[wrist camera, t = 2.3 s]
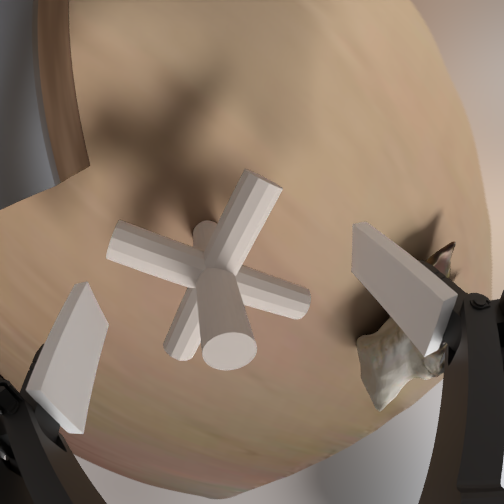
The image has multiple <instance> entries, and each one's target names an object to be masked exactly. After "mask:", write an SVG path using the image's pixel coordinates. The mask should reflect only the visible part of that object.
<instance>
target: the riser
mask: <svg viewBox="0 0 504 504" xmlns="http://www.w3.org/2000/svg"><path fill="white" fill-rule="evenodd" d="M89 166H90V163H89V159H88V155H87V151H86V146H85V142H84V137H83V132H82V127H81V122H80V117H79V111H78V106H77V100H76V93H75V86H74V79H73V71H72V61H71V51H70V37H69V0H0V210H1V209H3V208H5V207H8V206H10V205H12V204H14V203H16V202H18V201H21V200H23V199H25V198H27V197H30V196H32V195H35V194H37V193H39V192H42V191H44V190H47V189H49V188H52V187H54V186H56V185H58V184H60V183H61V182H63V181H65V180H66V179H68V178H70V177H71V176H73V175H75V174H77V173H78V172H80V171H82V170H84V169H85V168H87V167H89Z"/></svg>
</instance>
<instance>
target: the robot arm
mask: <svg viewBox="0 0 504 504" xmlns="http://www.w3.org/2000/svg"><path fill="white" fill-rule="evenodd" d="M351 272H352V273H353V274H354V275H355V276H356V277H357V278H358V280H359V281H360V282H361V283H362V284H363V285H364V286H365V287H366V288H367V290H368V291H369V292H370V293H371V294H372V295H373V296H374V298H375V299H376V300H377V301H378V302H379V303H380V304H381V306H382V307H383V308H384V309H385V310H386V311H387V313H388V314H389V315H390V316H391V317H392V318H393V320H394V321H395V322H396V323H397V324H398V326H399V327H400V328H401V329H402V330H403V332H404V333H405V334H406V335H407V336H408V338H409V339H410V340H411V341H412V343H413V344H414V345H415V346H416V347H417V349H418V350H419V351H420V352H421V354H422V355H423V356H424V357H426V356H427V355H429V354H431V353H433V352H435V351H437V350H438V349H439V347H440V344H441V342H442V339H443V340H444V341H445V342H446V343H447V346H446V348H445V351H444V353H443V355H442V357H441V360H440V363H441V364H442V362H443V360H444V359H445V363H444V378H443V390H442V399H441V407H440V414H439V421H438V427H437V433H436V438H435V443H434V448H433V453H432V457H431V462H430V466H429V470H428V474H427V477H426V481H425V484H424V488H423V491H422V494H421V498H420V500H419V503H418V504H504V488H502V487H501V484H500V482H501V472H502V465H503V455H504V290H503V293H502V295H501V298H500V299H497V300H491V301H490V300H489V299H488V298H487V297H486V296H484V295H482V294H478V293H470V294H466V293H465V292H464V291H463V290H462V289H461V288H459V287H458V286H457V285H456V284H455V283H454V282H452V281H451V280H450V279H449V278H448V277H447V278H446V276H445V275H444V274H443V273H441V272H440V271H439V270H438V269H436V268H435V267H434V266H433V265H431V264H429V263H427V262H424V261H422V260H421V261H418V260H416V259H415V258H414V257H413V256H411V255H410V254H409V253H408V252H406V251H405V250H404V249H402V248H401V247H400V246H398V245H397V244H396V243H395V242H393V241H392V240H391V239H389V238H388V237H387V236H385V235H384V234H382V233H381V232H380V231H378V230H377V229H376V228H374V227H373V226H372V225H370V224H369V223H367V222H366V221H365V222H360V223H355V224H353V239H352V270H351ZM108 326H109V324H108V322H107V320H106V318H105V316H104V314H103V312H102V311H101V309H100V307H99V305H98V303H97V300H96V298H95V296H94V294H93V292H92V290H91V288H90V286H89V284H88V281H87V282H82V283H78V284H75V285H74V287H73V289H72V291H71V292H70V294H69V296H68V298H67V300H66V302H65V303H64V305H63V307H62V309H61V311H60V313H59V315H58V317H57V319H56V321H55V323H54V325H53V327H52V329H51V331H50V333H49V335H48V338H47V340H46V342H45V344H43V345H42V346H41V347H40V348H39V350H38V351H37V352H36V354H35V356H34V359H33V361H32V362H33V363H31V366H30V368H29V369H30V370H28V373H27V375H26V378H25V380H24V383H23V385H22V388H21V391H20V393H19V392H18V391H17V390H16V389H15V388H14V387H13V385H12V384H11V383H10V382H9V381H8V380H3V379H2V378H1V377H0V504H106V502H105V501H104V499H103V498H102V497H101V495H100V494H99V493H98V491H97V490H96V489H95V487H94V486H93V484H92V483H91V481H90V480H89V479H88V477H87V475H86V474H85V472H84V471H83V469H82V468H81V466H80V464H79V463H78V461H77V460H76V458H75V456H74V455H73V453H72V451H71V450H70V448H69V446H68V444H67V442H66V441H65V439H64V437H63V436H62V435H61V434H60V433H59V428H60V426H61V427H63V428H64V429H65V430H66V431H67V432H68V433H76V434H84V428H85V423H86V417H87V412H88V406H89V402H90V397H91V392H92V388H93V383H94V379H95V375H96V370H97V366H98V362H99V359H100V355H101V351H102V347H103V344H104V340H105V337H106V333H107V330H108ZM5 455H6V460H4V459H3V458H4V456H5Z"/></svg>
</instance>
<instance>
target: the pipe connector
mask: <svg viewBox="0 0 504 504" xmlns="http://www.w3.org/2000/svg"><path fill="white" fill-rule="evenodd" d="M282 190H283V188H282V187H280V186H279V185H277V184H276V183H274V182H272V181H270V180H269V179H267V178H265V177H263V176H261V175H259V174H257V173H255V172H252V171H250V170H247V169H245V170H244V172H243V174H242V175H241V177H240V179H239V181H238V183H237V185H236V187H235V189H234V191H233V193H232V195H231V197H230V199H229V201H228V203H227V205H226V207H225V209H224V211H223V213H222V216H221V218H220V220H219V222H218V224H217V223H215V222H213V221H202V222H200V223H199V224H198V225H196V227H195V228H194V231H193V247H192V246H189V245H186V244H184V243H181V242H178V241H176V240H173V239H170V238H168V237H165V236H162V235H160V234H157V233H154V232H152V231H149V230H146V229H144V228H141V227H138V226H136V225H133V224H130V223H128V222H125V221H122V220H119V221H118V223H117V225H116V227H115V229H114V232H113V234H112V237H111V240H110V243H109V246H108V250H107V255H106V259H109V260H112V261H114V262H117V263H120V264H122V265H125V266H128V267H131V268H133V269H136V270H139V271H142V272H145V273H148V274H150V275H153V276H156V277H159V278H162V279H165V280H168V281H171V282H174V283H177V284H180V285H183V286H186V287H188V288H187V290H186V292H185V295H184V297H183V299H182V301H181V304H180V306H179V308H178V310H177V313H176V315H175V317H174V320H173V322H172V324H171V327H170V329H169V331H168V334H167V336H166V338H165V341H164V343H163V346H164V349H165V351H166V352H167V353H168V354H169V355H170V356H171V357H173V358H175V359H177V360H183V361H187V360H189V359H191V358H192V357H193V355H194V354H195V352H196V350H197V348H198V346H199V344H200V342H201V347H202V356H203V359H204V361H205V362H206V363H207V364H208V365H209V366H211V367H213V368H216V369H219V370H233V369H237V368H240V367H243V366H245V365H246V364H248V363H249V362H250V361H251V360H252V359H253V358H254V357H255V355H256V352H257V346H256V342H255V339H254V336H253V332H252V329H251V326H250V323H249V320H248V317H247V313H246V310H245V307H244V305H247V306H250V307H253V308H257V309H260V310H264V311H267V312H271V313H274V314H278V315H282V316H285V317H289V318H292V319H301V318H302V317H303V316H304V315H305V314H306V313H307V311H308V308H309V306H310V301H311V294H310V291H309V289H307V288H306V287H303V286H301V285H298V284H295V283H292V282H289V281H286V280H283V279H281V278H278V277H275V276H272V275H269V274H267V273H264V272H261V271H258V270H255V269H252V268H250V267H247V266H244V265H242V264H243V262H244V260H245V258H246V256H247V255H248V253H249V251H250V249H251V247H252V245H253V243H254V242H255V240H256V238H257V236H258V234H259V232H260V230H261V229H262V227H263V225H264V223H265V221H266V219H267V217H268V216H269V214H270V212H271V210H272V208H273V206H274V204H275V203H276V201H277V199H278V197H279V195H280V193H281V191H282Z"/></svg>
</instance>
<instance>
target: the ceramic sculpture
mask: <svg viewBox="0 0 504 504" xmlns="http://www.w3.org/2000/svg"><path fill="white" fill-rule="evenodd" d="M455 244H456V242H451V243H450V244H448V245H446V246H445V247H443V248H442V249H440V250H439V251H437V252H436V253H435V254H434V255H432V256H431V257H430V258H429V259H428V260H427V261H426V262H427V263H429V264H431V265H433V266H434V267H435V268H436V269H438V270H439V271H440V272H441V273H443V274H444V275H445V276H446V278H447V277H448V278H449V275H450V270H451V269H450V264H451V263H450V259H451V256H452V252H453V250H454V247H455ZM466 294H468V293H466ZM356 346H357V350H358V355H359V360H360V365H361V379H362V381H363V383H364V385H365V387H366V389H367V391H368V393H369V395H370V397H371V399H372V401H373V404H374V406H375V408H376V409H377V410H378V411H382V410H383V409H384V408H385V406H386V405H387V404H388V403H389V402H390V401H392V400H393V399H394V398H395V397H396V396H397V394H398V393H399V391H400V390H401V388H402V387H403V386H404V385H405V384H406V383H407V382H408V381H410V380H411V379H414V378H421V379H425V380H428V379H430V378H432V377H438V376H439V375H440V374H442V373H444V363H445V359H444V360H443V362H442V364H441V363H440V360H441V357H442V355H443V353H444V351H445V348H446V346H447V343H446V342H445V341H444V340H443V339H442V342H441V344H440V347H439V349H438V350H437V351H435V352H433V353H431V354H429V355H427V356H426V357H424V356H423V355H422V354H421V352H420V351H419V350H418V349H417V347H416V346H415V345H414V344H413V343H412V341H411V340H410V339H409V338H408V336H407V335H406V334H405V333H404V332H403V330H402V329H401V328H400V327H399V326H398V324H397V323H396V322H395V321H394V320H393V318H392V317H391V316H390V318H389V319H388V320H387V321H386V322H385V323H384V324H383V326H382V327H381V328H380V329H379V330H378V331H377V332H376V333H374V334H371V335H362V336H361V337H359V338H358V339H357V343H356Z"/></svg>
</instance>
